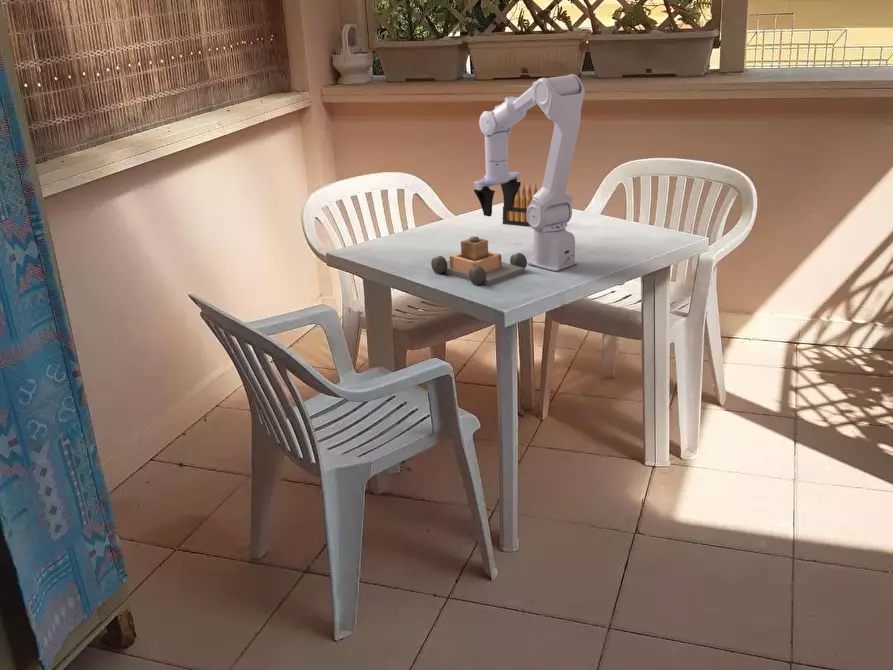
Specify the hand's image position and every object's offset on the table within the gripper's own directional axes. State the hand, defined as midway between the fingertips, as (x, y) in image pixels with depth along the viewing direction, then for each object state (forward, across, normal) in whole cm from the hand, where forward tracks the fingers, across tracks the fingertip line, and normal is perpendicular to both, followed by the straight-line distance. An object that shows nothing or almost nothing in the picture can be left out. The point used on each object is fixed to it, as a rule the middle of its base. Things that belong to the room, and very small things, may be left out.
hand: (498, 212), depth 225 cm
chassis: (+9, +18, +11) cm, 23 cm away
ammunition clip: (+9, -19, -10) cm, 23 cm away
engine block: (+8, +19, +11) cm, 23 cm away
